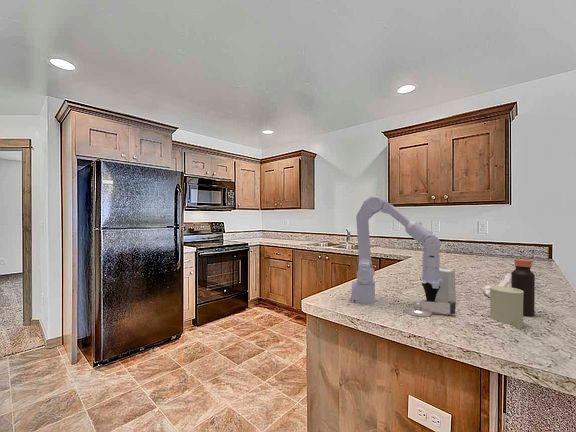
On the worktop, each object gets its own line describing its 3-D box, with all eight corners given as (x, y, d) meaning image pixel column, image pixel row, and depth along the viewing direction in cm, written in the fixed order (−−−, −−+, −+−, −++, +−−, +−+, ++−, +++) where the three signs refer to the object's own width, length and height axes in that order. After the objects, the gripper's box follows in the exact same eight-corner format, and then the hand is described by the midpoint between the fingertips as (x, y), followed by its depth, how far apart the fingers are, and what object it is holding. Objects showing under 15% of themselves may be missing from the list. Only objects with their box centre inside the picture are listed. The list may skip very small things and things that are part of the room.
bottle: (512, 309, 112) (512, 258, 112) (535, 313, 107) (535, 260, 107) (509, 313, 107) (510, 260, 107) (533, 318, 102) (533, 262, 102)
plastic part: (482, 294, 134) (482, 269, 134) (507, 296, 131) (507, 271, 131) (488, 298, 126) (488, 272, 127) (515, 300, 124) (515, 274, 124)
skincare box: (456, 307, 114) (456, 270, 114) (448, 310, 110) (448, 271, 110) (435, 302, 120) (436, 266, 121) (427, 304, 117) (428, 268, 117)
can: (526, 330, 91) (526, 292, 91) (490, 324, 95) (490, 288, 96) (521, 321, 98) (521, 286, 98) (488, 316, 103) (488, 283, 103)
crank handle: (406, 315, 99) (406, 302, 99) (402, 307, 108) (402, 295, 108) (459, 320, 95) (459, 306, 95) (451, 311, 104) (451, 298, 104)
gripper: (448, 271, 99) (448, 310, 99) (437, 264, 113) (437, 298, 113) (426, 270, 101) (426, 308, 101) (418, 263, 115) (417, 297, 115)
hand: (430, 303), depth 107 cm, fingers closed
